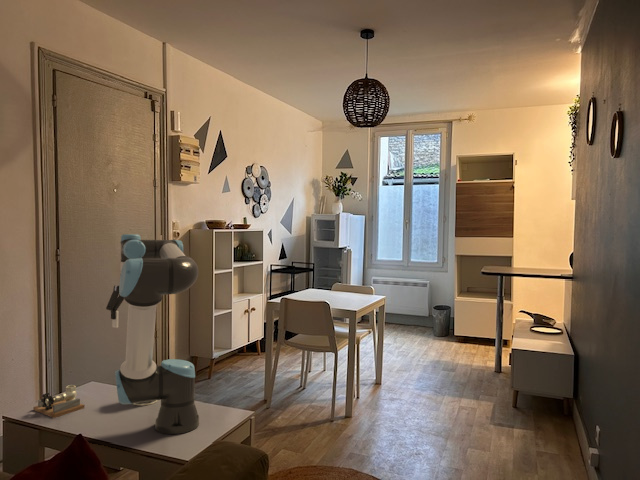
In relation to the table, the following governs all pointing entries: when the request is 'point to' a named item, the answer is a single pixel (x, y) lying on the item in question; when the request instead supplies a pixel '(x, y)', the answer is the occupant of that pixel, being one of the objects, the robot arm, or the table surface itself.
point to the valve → (59, 397)
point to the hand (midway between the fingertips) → (129, 324)
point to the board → (59, 407)
